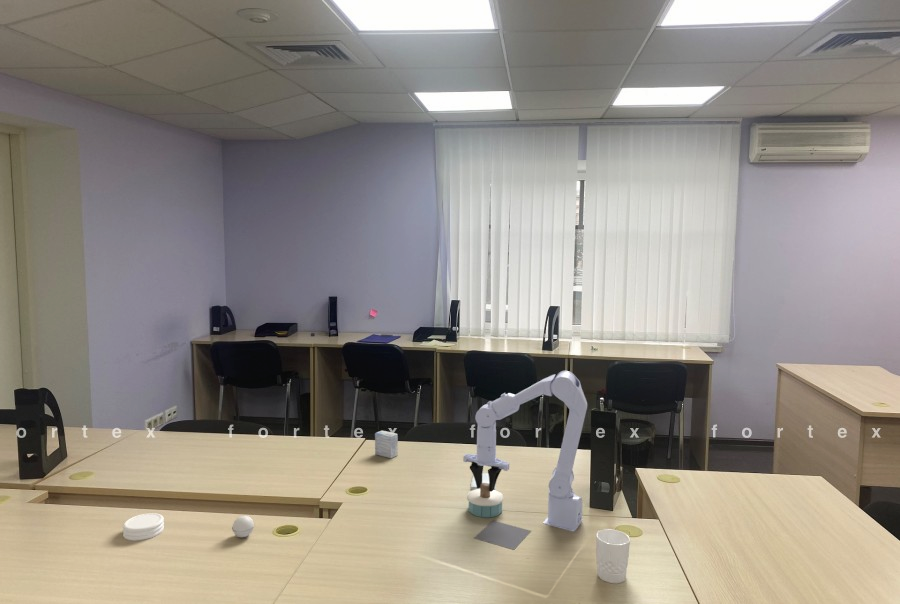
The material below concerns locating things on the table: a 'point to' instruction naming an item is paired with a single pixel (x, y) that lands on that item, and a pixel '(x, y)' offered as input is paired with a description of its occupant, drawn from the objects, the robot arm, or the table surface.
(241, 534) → the white ball
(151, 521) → the coaster
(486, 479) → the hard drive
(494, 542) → the mat
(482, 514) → the bowl
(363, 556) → the table surface
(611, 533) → the white cup
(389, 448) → the medicine box
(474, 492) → the lid
